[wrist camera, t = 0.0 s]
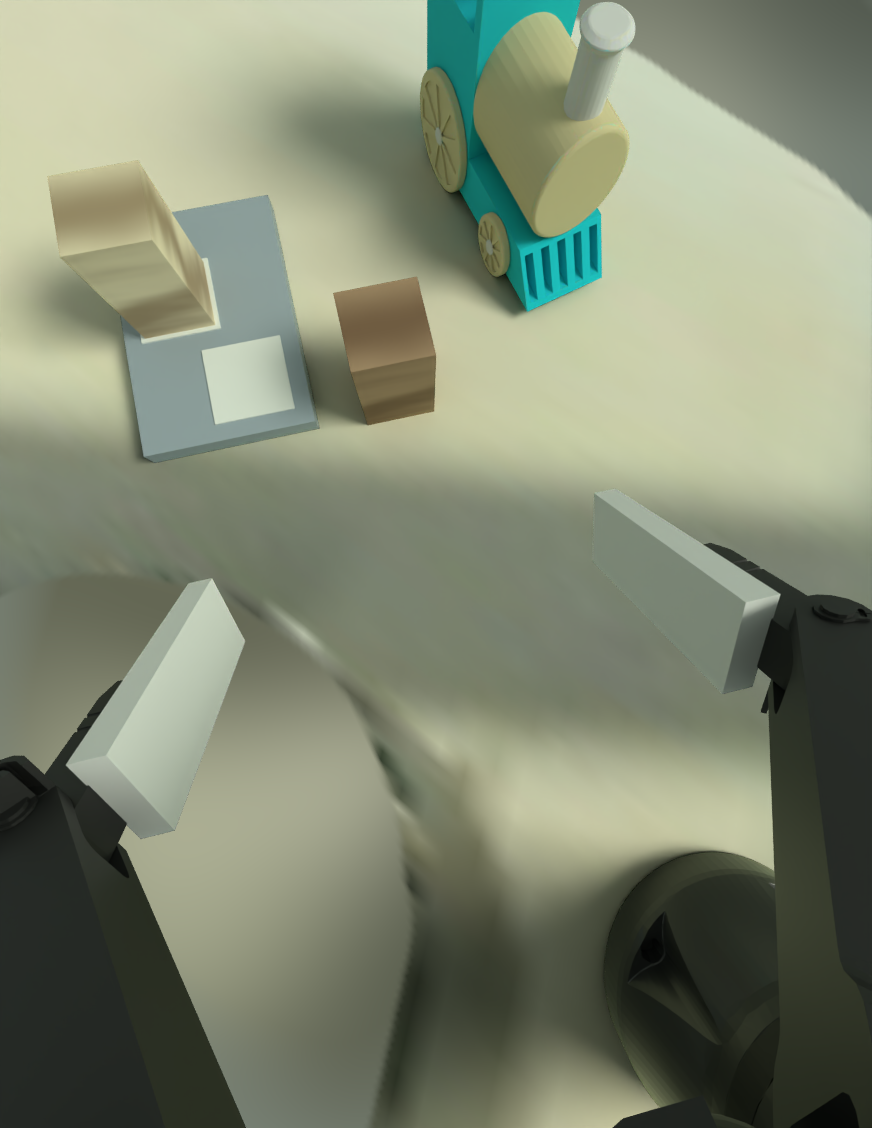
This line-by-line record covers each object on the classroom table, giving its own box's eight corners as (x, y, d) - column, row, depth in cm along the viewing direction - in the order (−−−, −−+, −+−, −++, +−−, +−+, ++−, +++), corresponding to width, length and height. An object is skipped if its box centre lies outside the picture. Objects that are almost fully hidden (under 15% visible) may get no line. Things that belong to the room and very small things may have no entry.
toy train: (515, 324, 32) (592, 79, 17) (418, 149, 34) (412, -218, 19) (605, 283, 33) (754, 10, 18) (506, 112, 34) (567, -273, 19)
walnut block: (433, 411, 31) (436, 354, 24) (367, 425, 31) (350, 372, 24) (419, 349, 32) (416, 276, 25) (353, 362, 32) (333, 293, 25)
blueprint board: (319, 428, 31) (314, 420, 30) (154, 462, 30) (142, 456, 29) (273, 210, 33) (267, 193, 31) (117, 239, 32) (104, 223, 31)
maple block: (215, 324, 30) (152, 240, 23) (145, 338, 30) (59, 257, 23) (203, 262, 31) (137, 160, 24) (134, 275, 30) (47, 176, 23)
